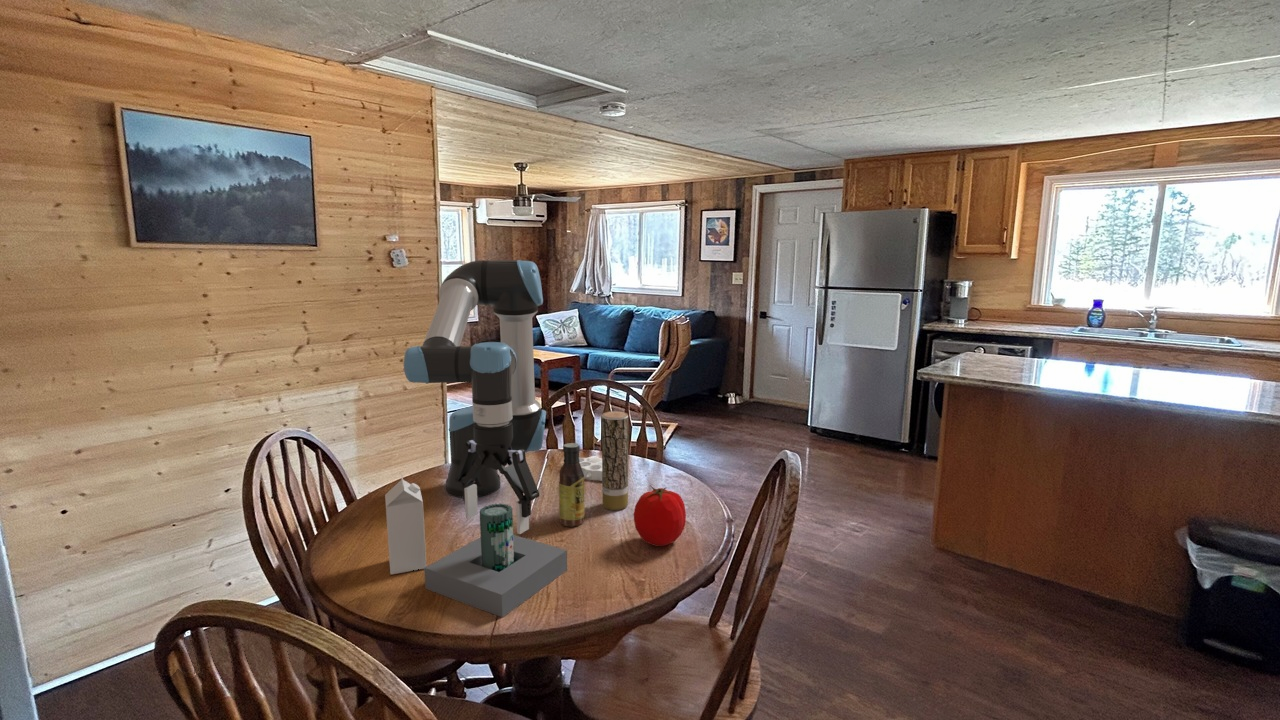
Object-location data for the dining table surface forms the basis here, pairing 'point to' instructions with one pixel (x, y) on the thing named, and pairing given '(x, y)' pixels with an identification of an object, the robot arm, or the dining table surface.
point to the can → (496, 536)
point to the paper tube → (615, 460)
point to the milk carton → (405, 528)
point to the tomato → (660, 516)
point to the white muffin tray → (591, 467)
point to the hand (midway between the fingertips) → (496, 523)
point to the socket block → (496, 575)
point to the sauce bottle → (571, 487)
